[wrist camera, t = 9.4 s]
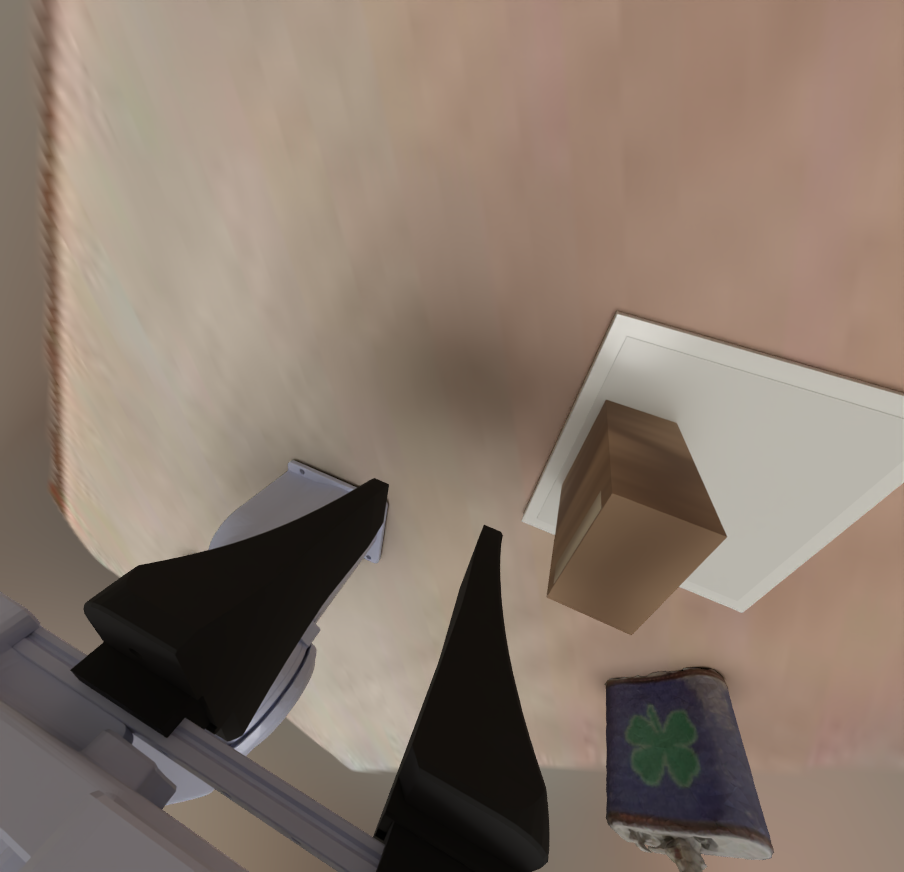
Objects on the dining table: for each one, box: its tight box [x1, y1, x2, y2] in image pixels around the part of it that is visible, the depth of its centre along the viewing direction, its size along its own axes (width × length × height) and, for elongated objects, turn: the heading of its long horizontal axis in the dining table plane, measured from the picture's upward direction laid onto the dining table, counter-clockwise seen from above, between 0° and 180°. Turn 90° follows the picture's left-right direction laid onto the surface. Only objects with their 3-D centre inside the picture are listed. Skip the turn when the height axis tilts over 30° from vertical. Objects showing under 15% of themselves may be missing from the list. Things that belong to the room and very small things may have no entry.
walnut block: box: [547, 400, 727, 635], centre depth 16 cm, size 4×6×8 cm, turn 167°
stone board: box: [522, 311, 904, 613], centre depth 19 cm, size 14×14×1 cm
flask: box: [605, 668, 774, 872], centre depth 23 cm, size 9×3×11 cm, turn 136°
